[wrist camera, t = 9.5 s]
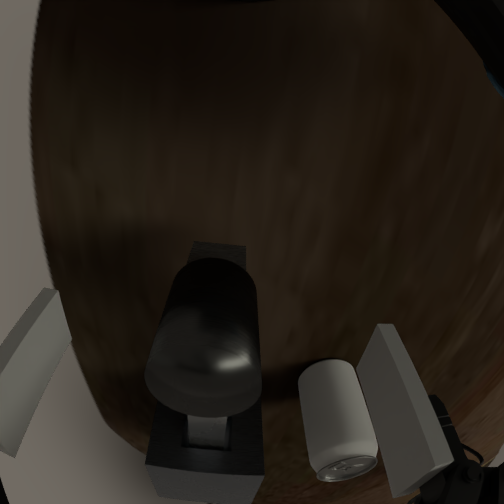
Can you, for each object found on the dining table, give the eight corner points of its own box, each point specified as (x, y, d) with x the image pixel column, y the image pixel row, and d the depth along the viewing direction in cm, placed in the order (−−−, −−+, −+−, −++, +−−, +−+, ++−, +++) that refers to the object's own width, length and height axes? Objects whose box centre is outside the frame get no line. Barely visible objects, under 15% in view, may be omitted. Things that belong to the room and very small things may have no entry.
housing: (165, 365, 31) (144, 464, 21) (259, 374, 32) (264, 475, 21) (171, 414, 36) (158, 496, 25) (248, 422, 37) (250, 504, 26)
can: (323, 399, 35) (341, 485, 24) (285, 381, 33) (296, 478, 22) (364, 369, 32) (394, 458, 22) (327, 348, 30) (354, 450, 20)
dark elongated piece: (182, 228, 18) (138, 337, 10) (259, 236, 18) (271, 351, 10) (187, 448, 30) (180, 518, 22) (226, 452, 30) (225, 522, 22)
